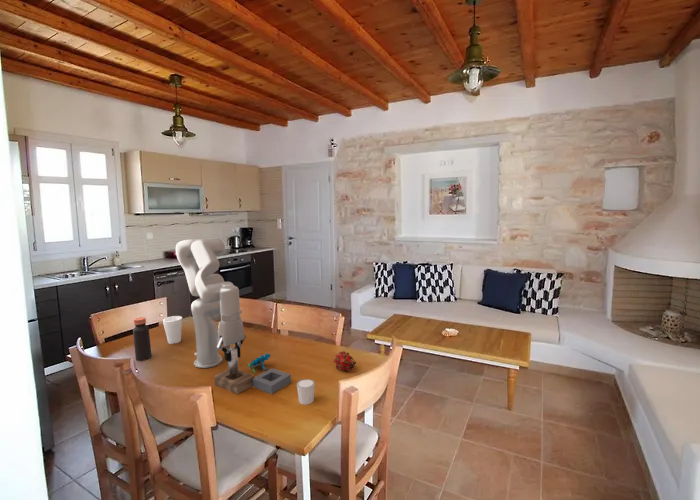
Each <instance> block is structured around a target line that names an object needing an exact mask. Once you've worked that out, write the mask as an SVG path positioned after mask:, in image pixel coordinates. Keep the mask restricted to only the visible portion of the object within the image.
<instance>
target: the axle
mask: <svg viewBox="0 0 700 500" xmlns="http://www.w3.org/2000/svg"><path fill="white" fill-rule="evenodd" d="M229 352H231V362H228V361H227V370H228V373H229V374H235V373H237V372H238V371H239V370H240V369H239V358H238V351H237V347H235V346H230V351H229Z"/></svg>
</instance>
